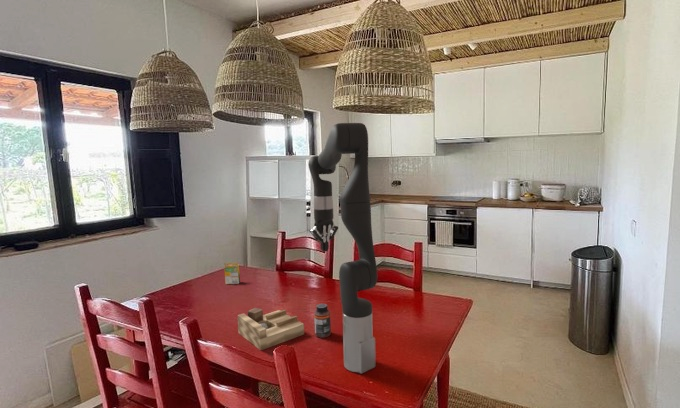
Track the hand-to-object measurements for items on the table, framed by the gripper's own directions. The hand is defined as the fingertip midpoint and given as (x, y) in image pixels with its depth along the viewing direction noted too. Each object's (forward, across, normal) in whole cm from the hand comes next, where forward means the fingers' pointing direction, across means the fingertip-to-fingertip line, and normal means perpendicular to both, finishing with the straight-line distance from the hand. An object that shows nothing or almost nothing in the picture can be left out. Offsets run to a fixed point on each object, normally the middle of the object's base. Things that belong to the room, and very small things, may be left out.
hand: (324, 251), depth 144 cm
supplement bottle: (+29, -8, -8) cm, 31 cm away
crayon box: (+29, -8, +74) cm, 80 cm away
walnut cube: (+25, -25, +12) cm, 37 cm away
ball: (+26, -26, +6) cm, 37 cm away
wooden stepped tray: (+29, -22, +6) cm, 37 cm away
